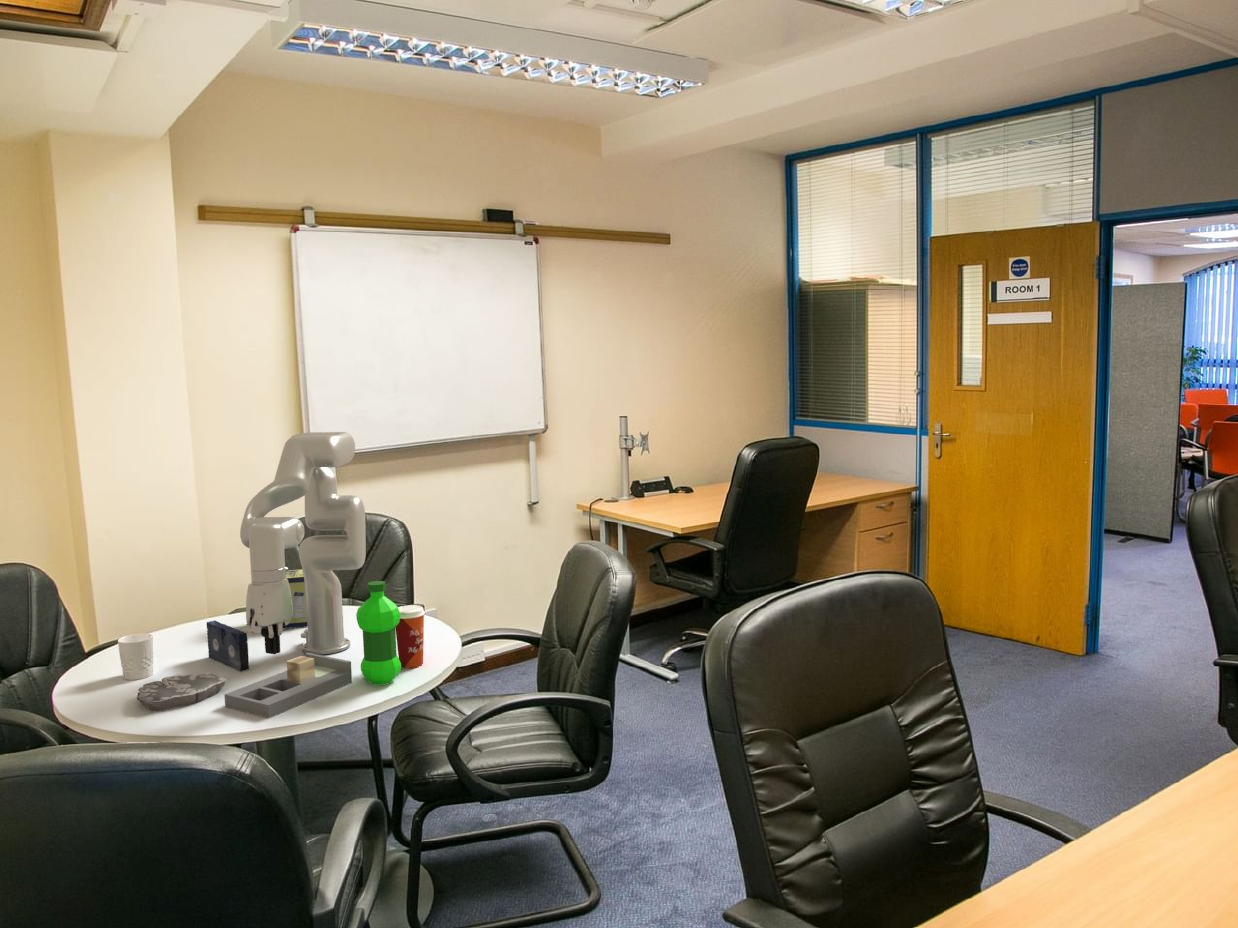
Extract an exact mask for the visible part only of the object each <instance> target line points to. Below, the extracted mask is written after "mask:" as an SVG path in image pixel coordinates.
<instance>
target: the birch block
mask: <svg viewBox="0 0 1238 928" xmlns="http://www.w3.org/2000/svg"><path fill="white" fill-rule="evenodd" d="M286 671H287V677H288V679H289V680H293V681H298V682H302V681H305V680H307V679H310V678H312V677H315V664H314V658H310V657H305V655H304V656H303V655H299V656H297V657H295V658H294V657H293V658H291V659H289V660H286Z"/></svg>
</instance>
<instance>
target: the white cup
mask: <svg viewBox="0 0 1238 928" xmlns="http://www.w3.org/2000/svg"><path fill="white" fill-rule="evenodd" d="M153 639H154V638H153V634H151V633H147V632H146V633H133V634H130V635H129V634H127V635H125V636H122V637H120V638H118V639H117V643H118V645H117V646H118V653H119V660H120V665H121V668H122V676H123V679H125V680H127V681H128V680H129V681H137V680H141V679H142V680H143V679H146V678H148V677H151V676H152V675H153V673H154V643H153Z"/></svg>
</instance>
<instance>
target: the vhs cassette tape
mask: <svg viewBox="0 0 1238 928" xmlns="http://www.w3.org/2000/svg"><path fill="white" fill-rule="evenodd" d="M206 629H207V630H206V635H207V637H206V638H207V639H206V640H207V648H208V659H211V660H213V661H215V662H217V663H220V664H222V665H224V666H226V667H229V668H230V669H233V670H236V671H238V672H244V671H249V669H250V663H249V662H250V661H249V658H250V657H249V645H248V643H249V642H248V632H244V631H242V630H239V629H238V628H235V627H233V626H230V625H227V624H225V623H221V622H220V621H217V620H210V621H206Z"/></svg>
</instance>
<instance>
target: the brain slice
mask: <svg viewBox="0 0 1238 928" xmlns="http://www.w3.org/2000/svg"><path fill="white" fill-rule="evenodd" d="M225 683H226V679H225V678H224V677H223V676H220V675H218V674H214V673H188V674H187V673H186V674H176V675H170V676H166V677H163V678H162V679H161V680H154V681H152V682H146V683H145V684H143V685H142V686H141V687H139V688H138V692H137V695H136V700H137V701H138V702H139V703H140V704H141V705H143V706H144V707H147V708H148V709H149V710H150V711H157V712H158V711H167V710H171V709H176V708H180V707H185V706H188V705H191V704H194V703H199V702H202V701H205V700H206V699H208V698H211V697H212V696H215V695H217V694H218V693H219V692H220V691H221V690H222V688H223V687H224V686H225Z"/></svg>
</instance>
